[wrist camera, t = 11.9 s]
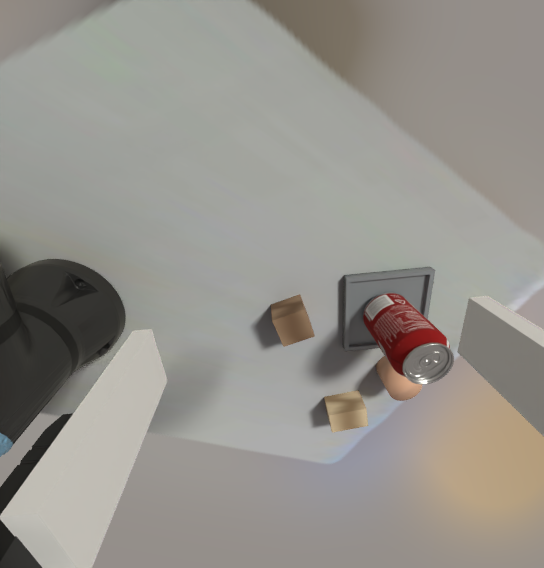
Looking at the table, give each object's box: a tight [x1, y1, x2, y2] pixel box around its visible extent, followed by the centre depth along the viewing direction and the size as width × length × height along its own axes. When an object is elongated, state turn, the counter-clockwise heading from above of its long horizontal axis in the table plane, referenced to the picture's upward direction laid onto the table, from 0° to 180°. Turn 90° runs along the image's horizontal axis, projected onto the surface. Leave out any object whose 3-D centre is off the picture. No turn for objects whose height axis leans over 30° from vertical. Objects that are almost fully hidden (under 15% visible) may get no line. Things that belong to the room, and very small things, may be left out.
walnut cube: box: [271, 295, 314, 347], centre depth 40 cm, size 4×4×4 cm
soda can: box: [363, 293, 454, 384], centre depth 37 cm, size 7×7×12 cm
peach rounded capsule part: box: [376, 356, 422, 401], centre depth 45 cm, size 5×5×5 cm
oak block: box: [324, 390, 368, 432], centre depth 48 cm, size 6×4×4 cm, turn 102°
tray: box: [343, 267, 435, 351], centre depth 42 cm, size 12×12×1 cm
